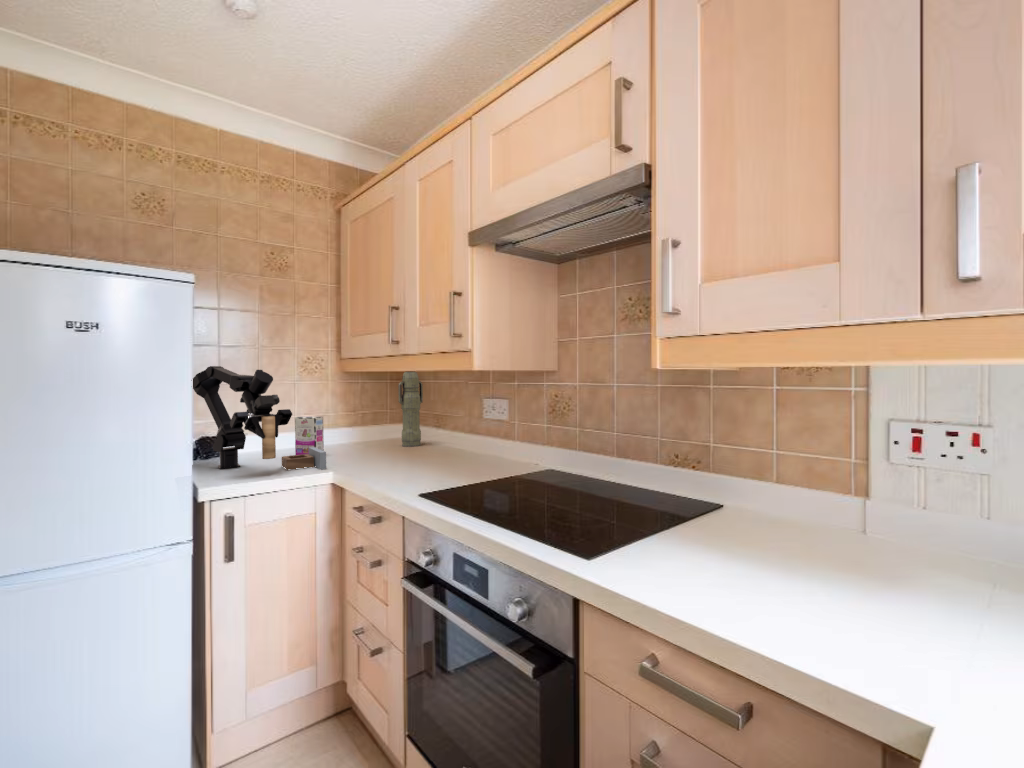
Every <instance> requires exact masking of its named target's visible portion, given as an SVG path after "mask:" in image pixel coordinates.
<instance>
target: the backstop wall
mask: <svg viewBox="0 0 1024 768" xmlns="http://www.w3.org/2000/svg"><path fill="white" fill-rule="evenodd" d="M309 455H311V456H313V457H314V467H315V466H316V467H317V468H316V467H315V468H316V469H318V468H319V470H320V469H321V470H327V452H326V451H325V450H324V451H322V450H320V449H317V448H315V447H310V448H309Z"/></svg>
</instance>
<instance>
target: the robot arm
mask: <svg viewBox="0 0 1024 768" xmlns="http://www.w3.org/2000/svg"><path fill="white" fill-rule="evenodd" d="M192 379H193V388H192V390H193V391H194V392H195V394H196V395H197V396H200V397H201V398H202V399H203V400H204V401H205V403H206V406H207V408H208V410H209V412H210V415H211V416H212V419H213V420H214V423H215V425H216V426H217V432H216V439H215V441H214V443H213V445H212V450H213V452H217V453H219V464H218V465H217V467H218V468H219V470H223V469H231V468H240V467H241V465H240V464H239V450H244V448H245V443H246V440H247V439H246V438H247V437H246V434H245V431H249V432H250V433H253V434H255V435H256V436H258V437H259V438H261V440H262V439H264V438H265V435H264V432H263V430H262V425H260V424H261V423H262V417H263V416H275V438H278V437H279V426H285V425H288V424H289V422H290V420H291V418H292V416H293V412H292V410H291V409H289V408H288V409H287V408H286V409H283V408H282V409H277V412H276V413H271V412H272V411H273V407H274V406H275V405H278V404H279V403H280V402H281V401H280V397H279V396H278V394H270V395H267V394H266V393H267V391H268V390H269V388H270V386H271V384H272V383H273V382H274V377H273V376H272V374H269V373H267V372H265V371H264V370H263V369H256V370H255V373H254V375H250V374H249V375H248V374H238V373H236V372H234V371H232V370H229V369H227V368H225V367H223V366H220V365H217V366H216V365H212V366H211V365H210V366H208V367H206V368H205V370H202V371H200V372H198V373H196V374H195V375H194V377H193V378H192ZM222 382H223V383H226V385H227V384H228V385H229V388H230V389H231V390H232V391H233V392H236V393H241V392H242V394H241V397H240V399H239V402H240V403H241V404H242V403H244V404H245V406H246V411H235V412H234V413H233V415H232V417H230V414H229V412H228V411H227V408H226V406H225V404H224V402H223V399H222V398H221V395H220V394H219V390H220V387H221V385H222ZM264 394H266V395H264ZM243 423H244V424H243ZM243 428H244V429H243Z"/></svg>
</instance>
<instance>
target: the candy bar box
mask: <svg viewBox="0 0 1024 768" xmlns="http://www.w3.org/2000/svg"><path fill="white" fill-rule="evenodd" d="M294 433H295V434H294V438H295V441H294V442H295V444H294V445H295V451H294V452H295V455H303V454H309V448H310V447H315V448H317V449H320V450H322V451H325V449H324V446H325V444H324V440H325V439H324V416H310V415H309V416H295V417H294Z"/></svg>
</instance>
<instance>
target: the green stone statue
mask: <svg viewBox="0 0 1024 768" xmlns="http://www.w3.org/2000/svg"><path fill="white" fill-rule="evenodd" d="M419 379H420V377H419V375H418V371H417V372H416V371H405V372H403V374H402V379H401V380H402V381H400V382H398V390H397V391H398V403H399V404H400V405H401V407H400V408H401V411H402V429H401V442H402V445H401V446H402V447H406V448H407V447H408V448H410V447H411V448H412V447H420V446H421V441H422V431H421V429H420V428H421V426H420V424H421V421H420V409H421V404H422V403H423V401H424V399H423V397H424V394H423V392H424V389H423V387H424V386H423V385H424V384H423V383H422V381H420V380H419Z"/></svg>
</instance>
